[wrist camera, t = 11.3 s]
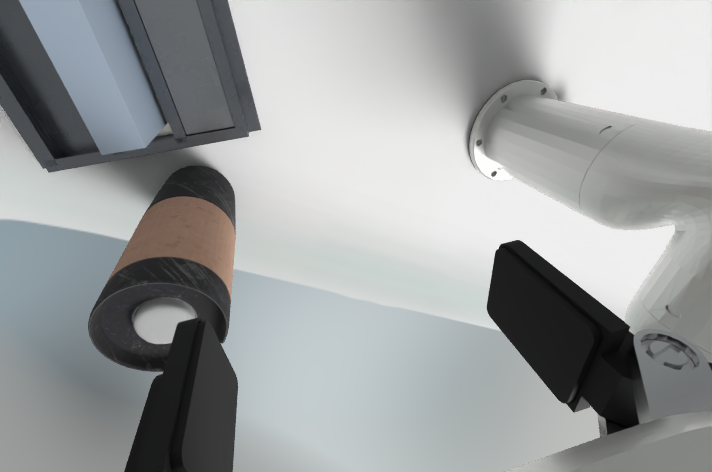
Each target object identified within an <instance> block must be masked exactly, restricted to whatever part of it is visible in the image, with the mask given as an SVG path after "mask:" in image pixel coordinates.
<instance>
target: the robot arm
mask: <svg viewBox="0 0 712 472" xmlns="http://www.w3.org/2000/svg"><path fill="white" fill-rule="evenodd" d="M469 147H470V156H471V160H472V162H473V164H474V166H475V168H476V169H477V170H478V171H479V172H480V173H481V174H483V175H484V176H486V177H487V178H489V179H492V180H497V181H506V180H511V179H514V178H515V179H517V180H519V181H521V182H523V183H525V184H526V185H528V186H530V187H532V188H534V189H536V190H538V191H539V192H541V193H543V194H545V195H547V196H549V197H551V198H552V199H554V200H556V201H558V202H560V203H562V204H564V205H565V206H567V207H569V208H571V209H573V210H575V211H577V212H578V213H580V214H582V215H584V216H586V217H588V218H590V219H592V220H594V221H596V222H598V223H600V224H602V225H604V226H607V227H610V228H614V229H619V230H643V229H651V228H657V227H663V226H668V225H673V224H674V226H675V232H674V235H673V237H672V238H671V240H670V242H669V243H668V245H667V247H666V250H665V251H664V253H663V254H662V256H661V257H660V259H659V260H658V262H657V263H656V265H655V266H654V267H653V269H652V270H651V272H650V273H649V275H648V276H647V278H646V279H645V281H644V282H643V284H642V285H641V287H640V288H639V289H638V291H637V293H636V294H635V296H634V297H633V299H632V301H631V303H630V304H629V306H628V309H627V311H626V316H625V322H624V321H623V320H621V319H620V318H619V317H617V316H616V315H615V314H614V313H612V312H611V311H610V310H609V309H607V308H606V307H605V306H603V305H602V304H601V303H600V302H598V301H597V300H596V299H595V298H593V297H592V296H591V295H589V294H588V293H587V292H586V291H584V290H583V289H582V288H581V287H579V286H578V285H577V284H575V283H574V282H573V281H572V280H570V279H569V278H568V277H566V276H565V275H564V274H563V273H561V272H560V271H559V270H558V269H556V268H555V267H554V266H552V265H551V264H550V263H549V262H547V261H546V260H545V259H544V258H542V257H541V256H540V255H538V254H537V253H536V252H535V251H533V250H532V249H531V248H529V247H528V246H527V245H526V244H524V243H523V242H522V241H520V240H516V241H512V242H508V243H504V244H501V245H500V246H499V249H498V250H496V253H495V258H494V265H493V271H492V277H491V284H490V290H489V296H488V302H487V311H488V314H489V316H490V317H491V318H492V320H493V321H494V322H495V323H496V324H497V326H498V327H499V328H500V329H501V331H502V332H503V333H504V334H505V335H506V337H507V338H508V339H509V340H510V342H511V343H512V344H513V345H514V346H515V348H516V349H517V350H518V351H519V352H520V354H521V355H522V356H523V357H524V359H525V360H526V361H527V362H528V363H529V365H530V366H531V367H532V368H533V370H534V371H535V372H536V373H537V374H538V376H539V377H540V378H541V379H542V380H543V382H544V383H545V384H546V385H547V387H548V388H549V389H550V390H551V392H552V393H553V394H554V395H555V396H556V397H557V399H558V400H559V401H561V402H562V403H566V404H567V405H568V406H569V407H570V409H571V410H572V411H573V412H577V411H580V410H583V409H586V408H589V407H590V405H591V407H593V409H594V410H595V411H596V412H597V413H598V423H599V432H600V438H597V439H594V440H592V441H589V442H586V443H583V444H580V445H578V446H575V447H572V448H569V449H566V450H564V451H561V452H558V453H555V454H552V455H550V456H547V457H544V458H541V459H538V460H535V461H533V462H530V463H527V464H524V465H521V466H518V467H516V468H513V469H510V470H507V471H504V472H712V132H711V131H705V130H699V129H694V128H688V127H683V126H678V125H673V124H668V123H664V122H659V121H653V120H648V119H643V118H639V117H634V116H629V115H625V114H620V113H615V112H610V111H606V110H601V109H596V108H591V107H587V106H582V105H577V104H573V103H568V102H563V101H558V98H557V96H556V94H555V92H554V91H553V90H552V89H551V88H550V87H549V86H548V85H546V84H545V83H543V82H539V81H535V80H521V81H516V82H513V83H511V84H508V85H507V86H505V87H503V88H502V89H500V90H499V91H498V92H497V93H495V94H494V95H493V96H492V97H491V98H490V99H489V100H488V101H487V103H486V104H485V105H484V106H483V108H482V109H481V111H480V113H479V114H478V116H477V118H476V120H475V123H474V125H473V128H472V132H471V135H470V143H469ZM237 393H238V382H237V377H236V374H235V372H234V370H233V368H232V366H231V364H230V362H229V360H228V358H227V356H226V354H225V352H224V350H223V348H222V346H221V344H220V342H219V339H218V337H217V335H216V333H215V331H214V329H213V327H212V325H211V323H210V322H209V321H203V320H202V318H200V317H198V318H194V319H190V320H186V321H182V322H179V323H178V324H177V326H176V330H175V333H174V337H173V340H172V344H171V347H170V351H169V354H168V358H167V361H166V365H165V368H164V372H163V374H161V375H158V376H156V378H155V379H154V380H153V382H152V385H151V388H150V391H149V394H148V398H147V401H146V404H145V407H144V410H143V413H142V417H141V420H140V423H139V426H138V429H137V433H136V436H135V439H134V442H133V445H132V449H131V452H130V455H129V458H128V461H127V465H126V468H125V471H124V472H232V470H233V456H234V440H235V424H236V408H237Z"/></svg>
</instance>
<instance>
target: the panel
mask: <svg viewBox="0 0 712 472" xmlns="http://www.w3.org/2000/svg"><path fill="white" fill-rule="evenodd" d="M19 2H20V3H21V5H22V7H23V9H24V11H25V13H26V15H27V16H28V18H29V20H30V22H31V24H32V26H33V28H34V30H35V31H36V33H37V35H38V37H39V39H40V41H41V43H42V44H43V46H44V48H45V50H46V52H47V54H48V56H49V58H50V59H51V61H52V63H53V65H54V67H55V69H56V71H57V72H58V74H59V76H60V78H61V80H62V82H63V84H64V86H65V87H66V89H67V91H68V93H69V95H70V97H71V99H72V100H73V102H74V104H75V106H76V108H77V110H78V112H79V114H80V115H81V117H82V119H83V121H84V123H85V125H86V127H87V128H88V130H89V132H90V134H91V136H92V138H93V140H94V142H95V143H96V145H97V147H98V149H99V151H100V153H101V155H106V154H111V153H117V152H123V151H129V150H135V149H141V148H146V147H147V146H148V145H149V143H150V142H151V141H152V140H153V139H154V138H155V137H156V136H157V135H158V133H159V132H160V131H161V130H162V129H163V128H164V127H165V126H166V124H167V123H166V120H165V118H164V115H163V113H162V110H161V108H160V105H159V103H158V100H157V98H156V95H155V93H154V90H153V88H152V86H151V83H150V81H149V78H148V76H147V73H146V71H145V68H144V66H143V63H142V61H141V58H140V56H139V53H138V51H137V48H136V46H135V43H134V41H133V38H132V36H131V33H130V31H129V28H128V26H127V23H126V21H125V18H124V16H123V13H122V11H121V8H120V6H119V4H118V1H117V0H19Z"/></svg>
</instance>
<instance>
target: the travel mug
mask: <svg viewBox="0 0 712 472" xmlns="http://www.w3.org/2000/svg"><path fill="white" fill-rule="evenodd" d="M235 235H236V234H235V195H234V191H233V188H232V186H231V184H230V183H229V182H228V180H227V179H226V178H225V177H224V176H223V175H221V174H220V173H218V172H217V171H215V170H213V169H210V168H207V167H202V166H189V167H185V168H182V169H180V170H178V171H176V172H175V173H173V174H172V175H171V176H170V177H169V178H168V180H167V181H166V182H165V184H164V185H163V187H162V188H161V190H160V191H159V193H158V194H157V196H156V197H155V199H154V200H153V202H152V203H151V205H150V206H149V208H148V209H147V211H146V212H145V214H144V215H143V217H142V219H141V221H140V223H139V224H138V226H137V228H136V230H135V232H134V234H133V236H132V237H131V239H130V241H129V243H128V245H127V247H126V248H125V251H124V252H123V254H122V256H121V258H120V260H119V262H118V263H117V265H116V267H115V269H114V271H113V272H112V274H111V276H110V278H109V280H108V282H107V284H106V285H105V287H104V289H103V291H102V293H101V295H100V296H99V298H98V300H97V302H96V304H95V306H94V308H93V310H92V312H91V314H90V319H89V323H88V330H89V335H90V338H91V340H92V342H93V344H94V346H95V347H96V348H97V349H98V350H99V351H100V353H102V354H103V355H104V356H105V357H107V358H108V359H110V360H111V361H113V362H115V363H117V364H120V365H122V366H125V367H128V368H132V369H136V370H141V371H151V372H161V371H162V372H163V371H164V368H165V365H166V361H167V358H168V354H169V351H170V347H171V344H172V340H173V337H174V333H175V330H176V326H177V324H178V323H179V322H182V321H186V320H190V319H194V318H198V317H200V318H202V320H203V321H209V322H210V323H211V325H212V327H213V329H214V331H215V333H216V335H217V337H218V339H219V342H220V343H224V341H225V339H226V336H227V333H228V328H229V317H230V304H231V290H232V277H233V264H234V250H235Z"/></svg>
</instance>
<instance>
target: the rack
mask: <svg viewBox="0 0 712 472" xmlns="http://www.w3.org/2000/svg"><path fill="white" fill-rule="evenodd" d="M117 1H118V4H119V6H120V8H121V11H122V13H123V16H124V18H125V21H126V23H127V26H128V28H129V31H130V33H131V36H132V38H133V41H134V43H135V46H136V48H137V51H138V53H139V56H140V58H141V61H142V63H143V66H144V68H145V71H146V73H147V76H148V78H149V81H150V83H151V86H152V88H153V90H154V93H155V95H156V98H157V100H158V103H159V105H160V108H161V110H162V113H163V115H164V118H165V120H166V123H167V124H166V126H165V127H164V128H163V129H162V130H161V131H160V132H159V133H158V135H157V136H156V137H155V138H154V139H153V140H152V141H151V142H150V143H149V145H148V146H147V147H146V148H141V149H135V150H129V151H123V152H117V153H111V154H106V155H101V153H100V151H99V149H98V147H97V145H96V143H95V142H94V140H93V138H92V136H91V134H90V132H89V130H88V128H87V127H86V125H85V123H84V121H83V119H82V117H81V115H80V114H79V112H78V110H77V108H76V106H75V104H74V102H73V100H72V99H71V97H70V95H69V93H68V91H67V89H66V87H65V86H64V84H63V82H62V80H61V78H60V76H59V74H58V72H57V71H56V69H55V67H54V65H53V63H52V61H51V59H50V58H49V56H48V54H47V52H46V50H45V48H44V46H43V44H42V43H41V41H40V39H39V37H38V35H37V33H36V31H35V30H34V28H33V26H32V24H31V22H30V20H29V18H28V16H27V15H26V13H25V11H24V9H23V7H22V5H21V3H20V2H19V0H0V104H1V106H2V107H3V109H4V110H5V112H6V113H7V115H8V116H9V118H10V119H11V121H12V122H13V124H14V125H15V127H16V128H17V130H18V131H19V133H20V134H21V136H22V137H23V139H24V140H25V142H26V143H27V145H28V146H29V148H30V149H31V151H32V152H33V154H34V155H35V157H36V158H37V160H38V161H39V163H40V164H41V166H42V167H43V169H44V168H46V169H47V171H48V172H55V171H60V170H66V169H71V168H77V167H82V166H88V165H93V164H99V163H104V162H110V161H115V160H121V159H127V158H132V157H138V156H143V155H149V154H154V153H160V152H165V151H171V150H176V149H182V148H188V147H193V146H199V145H204V144H210V143H215V142H221V141H226V140H232V139H237V138H243V137H248V136H249V132H251V131H257V130H261V127H260V123H259V119H258V115H257V111H256V107H255V104H254V100H253V96H252V92H251V88H250V84H249V81H248V77H247V73H246V69H245V65H244V62H243V58H242V54H241V50H240V46H239V42H238V39H237V35H236V31H235V27H234V23H233V19H232V16H231V12H230V8H229V4H228V0H117Z"/></svg>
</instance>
